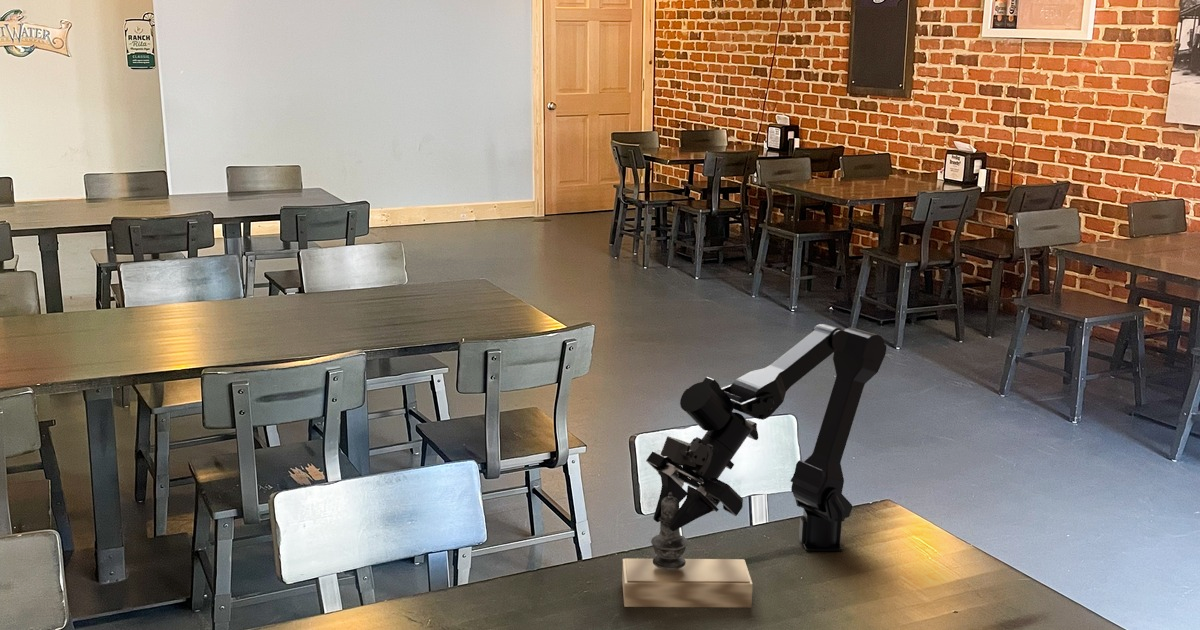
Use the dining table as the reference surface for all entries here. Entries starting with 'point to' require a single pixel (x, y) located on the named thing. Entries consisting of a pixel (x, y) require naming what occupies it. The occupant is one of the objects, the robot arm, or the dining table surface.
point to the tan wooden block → (687, 584)
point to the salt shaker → (669, 538)
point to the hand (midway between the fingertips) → (663, 525)
